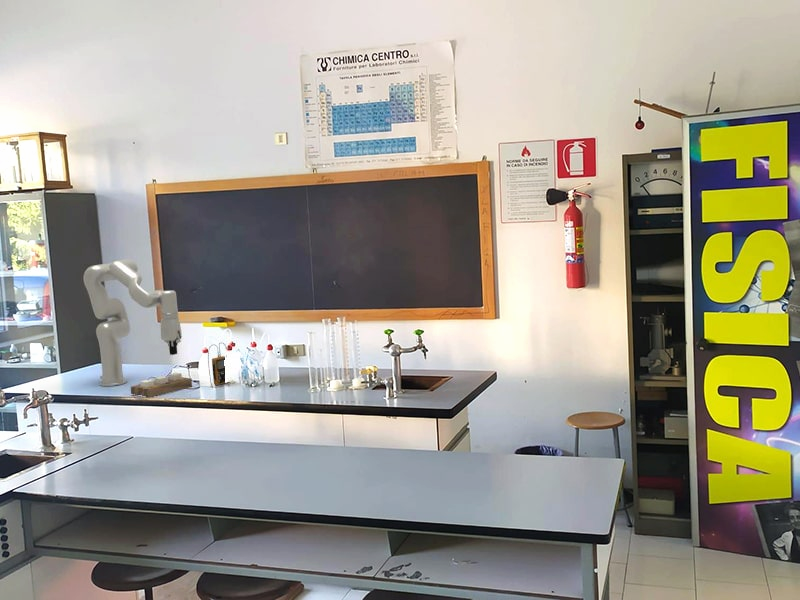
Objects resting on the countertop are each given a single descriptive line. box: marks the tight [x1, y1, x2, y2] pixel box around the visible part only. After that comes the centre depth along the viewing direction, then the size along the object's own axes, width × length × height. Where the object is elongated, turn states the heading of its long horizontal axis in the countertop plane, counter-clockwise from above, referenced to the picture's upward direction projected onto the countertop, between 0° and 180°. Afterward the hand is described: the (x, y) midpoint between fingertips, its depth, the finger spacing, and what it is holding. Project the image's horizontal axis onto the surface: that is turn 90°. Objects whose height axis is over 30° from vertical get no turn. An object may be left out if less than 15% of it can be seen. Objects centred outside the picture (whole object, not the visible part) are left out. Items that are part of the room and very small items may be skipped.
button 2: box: [167, 372, 183, 380], centre depth 366 cm, size 4×4×5 cm
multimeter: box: [207, 342, 230, 388], centre depth 365 cm, size 15×10×20 cm
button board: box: [130, 376, 193, 398], centre depth 359 cm, size 14×24×4 cm, turn 145°
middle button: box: [153, 375, 168, 384], centre depth 359 cm, size 4×4×5 cm
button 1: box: [139, 379, 154, 388], centre depth 353 cm, size 4×4×5 cm
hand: (173, 354), depth 364 cm, fingers closed
